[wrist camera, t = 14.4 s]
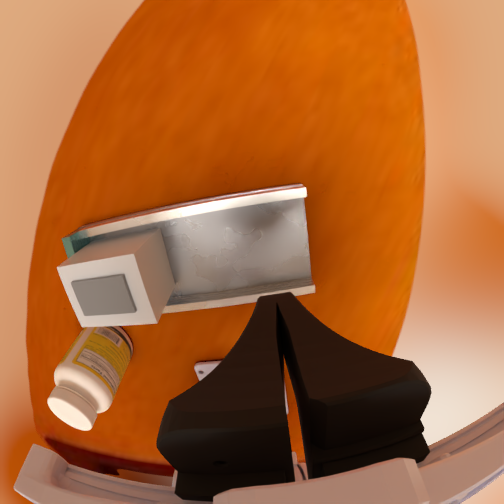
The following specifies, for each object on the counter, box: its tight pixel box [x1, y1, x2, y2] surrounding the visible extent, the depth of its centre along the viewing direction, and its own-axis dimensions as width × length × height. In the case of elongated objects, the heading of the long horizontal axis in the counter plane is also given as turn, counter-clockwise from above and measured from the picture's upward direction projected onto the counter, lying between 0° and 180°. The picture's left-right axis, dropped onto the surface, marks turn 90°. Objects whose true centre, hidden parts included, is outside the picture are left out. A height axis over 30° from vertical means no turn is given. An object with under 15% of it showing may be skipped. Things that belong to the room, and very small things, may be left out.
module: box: [57, 228, 175, 327], centre depth 17 cm, size 4×6×5 cm
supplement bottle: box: [48, 326, 133, 431], centre depth 19 cm, size 5×5×10 cm
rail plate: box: [62, 183, 315, 313], centre depth 19 cm, size 17×8×3 cm, turn 99°
